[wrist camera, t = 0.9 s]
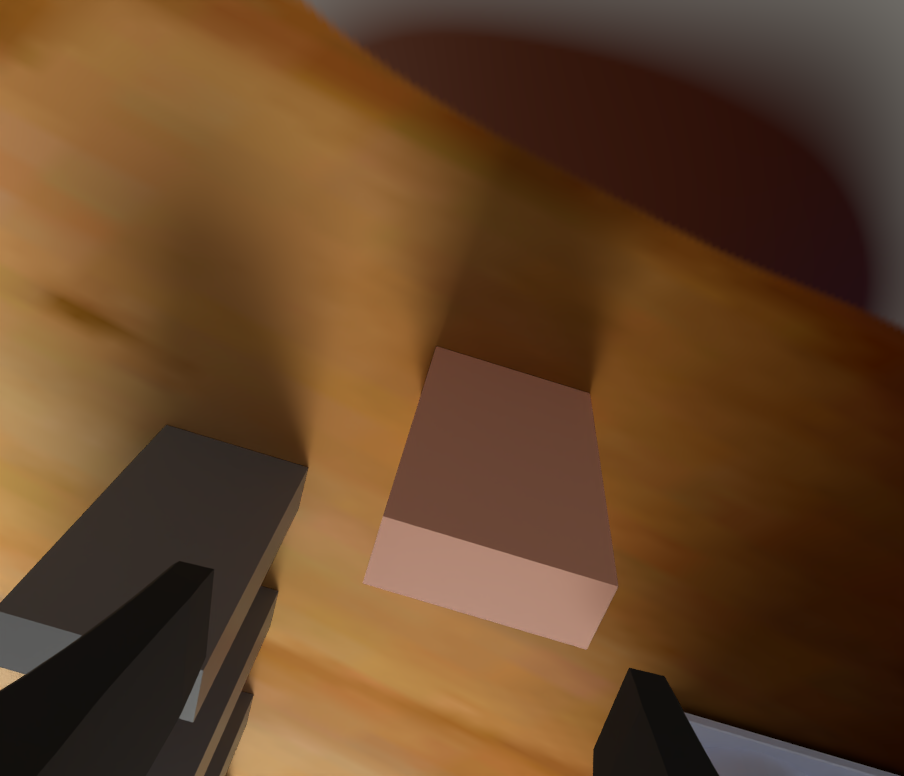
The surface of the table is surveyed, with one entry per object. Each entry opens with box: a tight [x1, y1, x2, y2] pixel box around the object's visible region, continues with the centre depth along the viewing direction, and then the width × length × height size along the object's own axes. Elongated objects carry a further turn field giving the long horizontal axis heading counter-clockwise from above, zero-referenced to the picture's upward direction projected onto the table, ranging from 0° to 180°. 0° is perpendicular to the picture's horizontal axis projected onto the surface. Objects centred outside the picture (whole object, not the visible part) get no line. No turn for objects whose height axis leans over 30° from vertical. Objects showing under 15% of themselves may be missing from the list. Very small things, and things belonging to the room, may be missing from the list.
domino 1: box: [0, 425, 308, 722], centre depth 19 cm, size 4×2×8 cm, turn 74°
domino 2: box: [146, 586, 278, 776], centre depth 22 cm, size 4×2×8 cm, turn 74°
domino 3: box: [363, 346, 618, 650], centre depth 18 cm, size 4×2×8 cm, turn 74°
